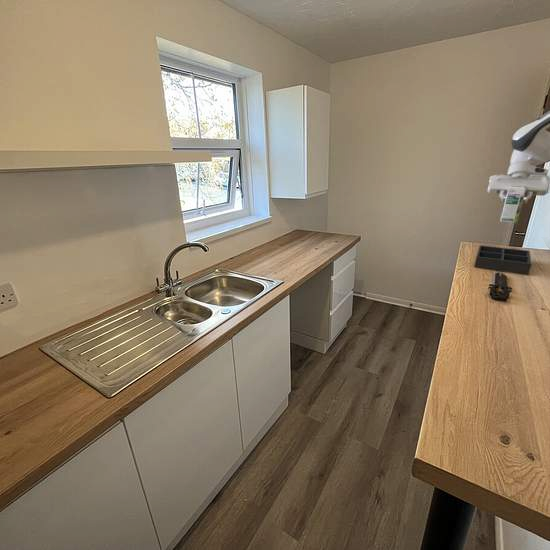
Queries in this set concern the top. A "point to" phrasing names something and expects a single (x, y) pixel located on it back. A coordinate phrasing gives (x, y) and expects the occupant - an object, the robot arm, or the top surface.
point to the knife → (496, 285)
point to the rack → (503, 259)
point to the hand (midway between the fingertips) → (514, 201)
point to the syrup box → (513, 204)
